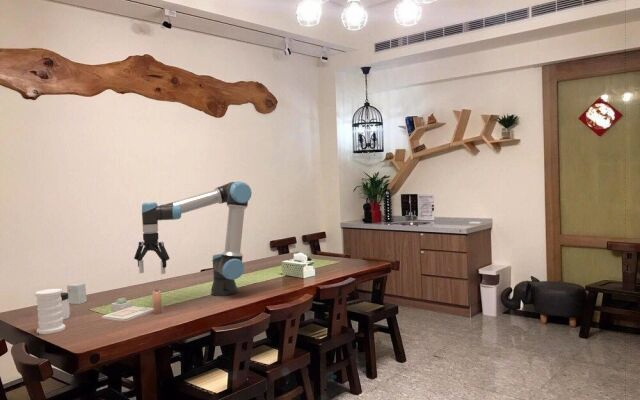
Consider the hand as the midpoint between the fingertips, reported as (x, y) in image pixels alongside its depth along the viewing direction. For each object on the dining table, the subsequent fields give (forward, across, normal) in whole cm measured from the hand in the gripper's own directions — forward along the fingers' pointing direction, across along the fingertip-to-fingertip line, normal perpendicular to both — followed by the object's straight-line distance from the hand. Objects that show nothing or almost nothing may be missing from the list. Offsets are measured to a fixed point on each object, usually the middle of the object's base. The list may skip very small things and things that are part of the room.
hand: (152, 273), depth 261 cm
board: (+19, +6, +11) cm, 23 cm away
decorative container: (+20, +24, +41) cm, 52 cm away
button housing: (+19, +18, +3) cm, 26 cm away
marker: (+19, -7, +6) cm, 21 cm away
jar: (+20, +38, +24) cm, 49 cm away
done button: (+17, +18, +3) cm, 25 cm away
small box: (+19, +56, -4) cm, 59 cm away
